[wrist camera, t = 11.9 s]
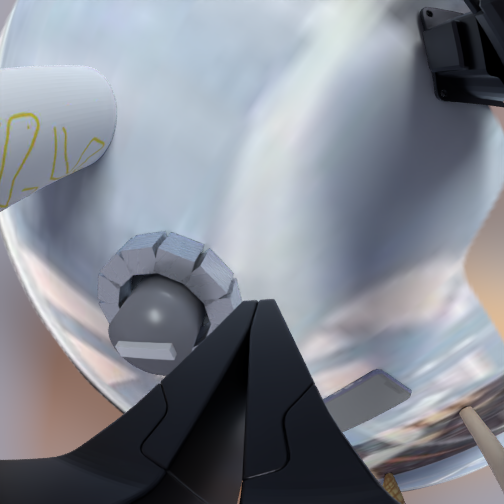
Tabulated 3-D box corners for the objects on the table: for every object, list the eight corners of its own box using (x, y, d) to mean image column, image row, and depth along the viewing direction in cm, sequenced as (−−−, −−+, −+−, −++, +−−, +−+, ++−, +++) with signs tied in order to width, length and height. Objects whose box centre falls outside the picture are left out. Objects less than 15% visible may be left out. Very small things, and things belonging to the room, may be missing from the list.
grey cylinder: (74, 188, 21) (-39, 264, 10) (27, 120, 18) (-88, 162, 8) (137, 117, 18) (-7, 159, 7) (79, 45, 15) (-57, 46, 5)
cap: (197, 262, 22) (167, 319, 17) (216, 323, 25) (196, 383, 19) (131, 268, 24) (91, 318, 18) (154, 324, 26) (126, 377, 21)
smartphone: (274, 426, 32) (379, 371, 25) (274, 419, 33) (377, 363, 26) (316, 443, 34) (414, 395, 27) (316, 437, 34) (413, 389, 28)
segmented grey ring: (223, 223, 21) (214, 239, 18) (252, 344, 26) (249, 366, 24) (93, 242, 23) (77, 256, 21) (140, 344, 28) (131, 361, 26)
